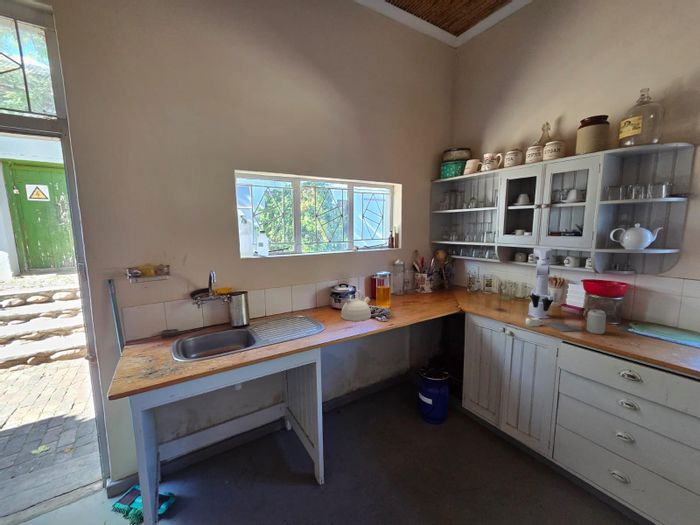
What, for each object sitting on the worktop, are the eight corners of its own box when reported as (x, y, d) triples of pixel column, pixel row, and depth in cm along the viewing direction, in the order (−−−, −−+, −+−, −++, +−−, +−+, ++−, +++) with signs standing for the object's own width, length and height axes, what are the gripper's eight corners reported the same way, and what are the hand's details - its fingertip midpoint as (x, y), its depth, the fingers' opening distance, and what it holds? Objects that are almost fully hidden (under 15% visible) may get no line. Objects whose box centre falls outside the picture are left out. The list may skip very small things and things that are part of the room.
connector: (528, 326, 164) (528, 319, 163) (524, 324, 167) (524, 318, 166) (543, 325, 164) (543, 319, 164) (538, 323, 168) (539, 317, 167)
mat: (543, 323, 168) (543, 322, 168) (558, 322, 169) (559, 321, 169) (563, 331, 154) (563, 331, 154) (579, 330, 155) (580, 330, 155)
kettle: (376, 318, 185) (376, 291, 182) (347, 323, 177) (346, 294, 175) (364, 310, 203) (363, 285, 201) (336, 314, 196) (336, 288, 194)
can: (584, 329, 158) (586, 308, 157) (602, 331, 154) (604, 309, 153) (587, 333, 152) (589, 311, 150) (606, 335, 148) (608, 313, 146)
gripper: (526, 284, 170) (525, 306, 171) (545, 289, 155) (543, 313, 157) (537, 283, 171) (535, 305, 172) (557, 288, 156) (555, 312, 158)
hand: (540, 309), depth 165 cm, fingers open, 7 cm apart
